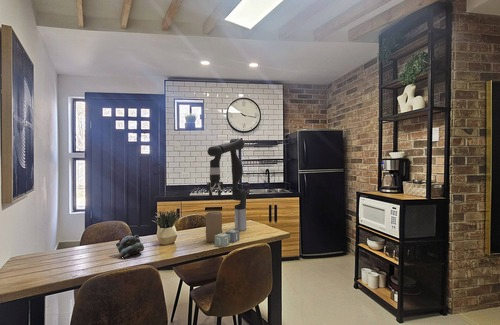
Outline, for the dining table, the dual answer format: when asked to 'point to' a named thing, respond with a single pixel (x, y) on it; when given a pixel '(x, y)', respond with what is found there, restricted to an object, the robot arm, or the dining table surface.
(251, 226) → the dining table surface
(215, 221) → the wooden block
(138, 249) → the dark green lumpy piece
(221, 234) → the sage numbered cube
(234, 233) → the slate numbered cube
